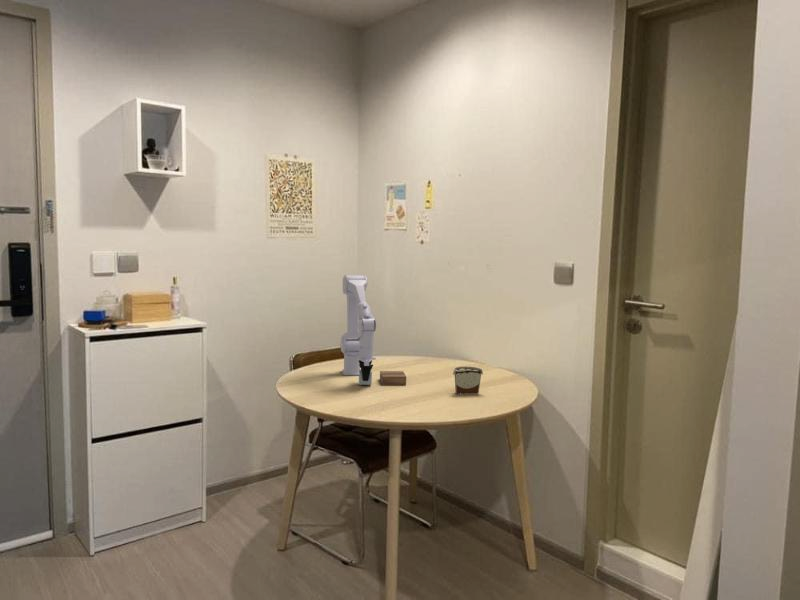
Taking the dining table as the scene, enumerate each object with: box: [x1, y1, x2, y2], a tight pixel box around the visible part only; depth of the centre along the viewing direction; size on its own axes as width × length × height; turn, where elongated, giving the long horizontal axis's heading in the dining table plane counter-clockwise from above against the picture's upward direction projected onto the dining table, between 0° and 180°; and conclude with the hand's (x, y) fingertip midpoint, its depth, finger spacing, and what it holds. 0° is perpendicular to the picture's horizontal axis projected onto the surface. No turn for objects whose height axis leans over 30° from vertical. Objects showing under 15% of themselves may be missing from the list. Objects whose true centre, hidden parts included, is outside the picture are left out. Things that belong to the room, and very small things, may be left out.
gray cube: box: [358, 369, 373, 386], centre depth 247 cm, size 5×5×5 cm
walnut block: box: [379, 370, 407, 386], centre depth 254 cm, size 10×10×4 cm
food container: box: [452, 366, 484, 395], centre depth 241 cm, size 12×6×10 cm, turn 104°
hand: (365, 379), depth 247 cm, fingers closed on gray cube, 5 cm apart
